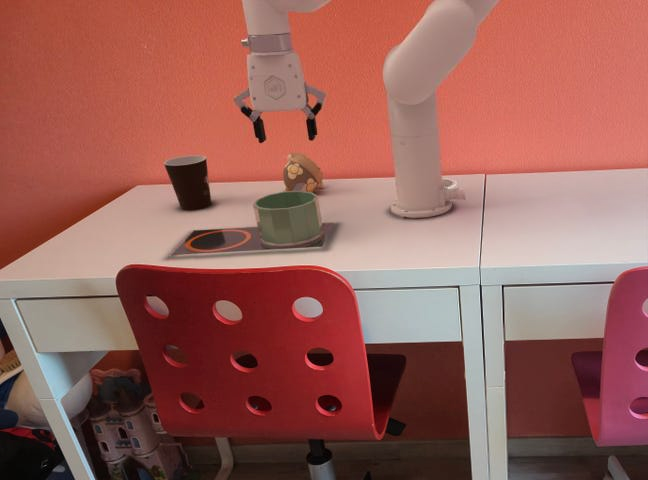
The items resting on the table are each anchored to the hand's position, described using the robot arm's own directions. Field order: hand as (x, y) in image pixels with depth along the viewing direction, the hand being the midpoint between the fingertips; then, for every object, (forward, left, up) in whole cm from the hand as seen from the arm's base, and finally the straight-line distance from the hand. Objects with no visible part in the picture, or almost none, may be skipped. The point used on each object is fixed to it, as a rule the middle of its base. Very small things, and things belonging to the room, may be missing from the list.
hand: (287, 140), depth 138 cm
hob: (+6, +12, -16) cm, 21 cm away
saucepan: (-1, +8, -15) cm, 17 cm away
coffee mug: (+25, -15, -16) cm, 33 cm away
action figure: (+2, -21, -16) cm, 26 cm away
